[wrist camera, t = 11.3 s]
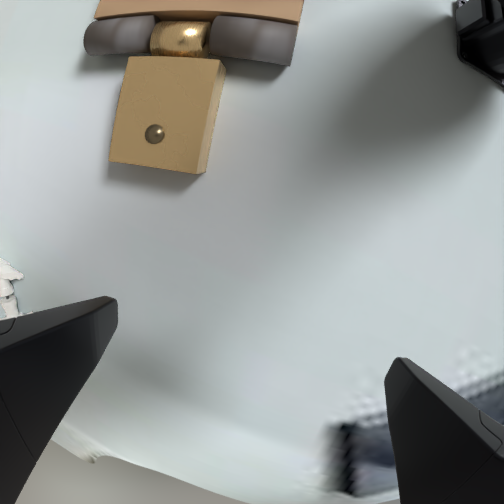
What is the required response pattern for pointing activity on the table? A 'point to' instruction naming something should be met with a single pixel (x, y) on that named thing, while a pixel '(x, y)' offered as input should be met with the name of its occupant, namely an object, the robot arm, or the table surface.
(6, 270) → the door handle
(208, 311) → the table surface
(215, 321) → the table surface
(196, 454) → the table surface
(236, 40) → the tan flat piece
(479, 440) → the robot arm
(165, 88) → the tan knobbed block
